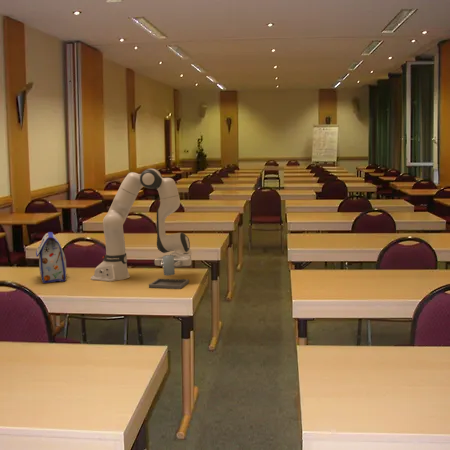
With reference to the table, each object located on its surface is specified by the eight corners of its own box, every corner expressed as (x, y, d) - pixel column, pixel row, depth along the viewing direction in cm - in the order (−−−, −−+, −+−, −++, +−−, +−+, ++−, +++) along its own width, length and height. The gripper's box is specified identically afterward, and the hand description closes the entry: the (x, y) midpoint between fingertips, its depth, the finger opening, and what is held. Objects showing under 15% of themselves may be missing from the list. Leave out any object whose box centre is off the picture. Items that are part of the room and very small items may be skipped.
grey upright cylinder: (162, 275, 348) (161, 257, 347) (166, 272, 354) (164, 255, 353) (172, 275, 347) (171, 257, 345) (176, 272, 353) (175, 255, 351)
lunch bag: (37, 276, 386) (34, 232, 382) (66, 273, 390) (62, 230, 386) (38, 284, 364) (34, 238, 360) (68, 281, 369) (64, 235, 365)
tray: (149, 287, 347) (148, 284, 347) (158, 281, 360) (158, 278, 360) (180, 288, 342) (180, 285, 342) (188, 282, 356) (188, 279, 355)
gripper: (159, 253, 364) (149, 258, 351) (193, 253, 359) (185, 259, 346) (159, 264, 365) (150, 270, 352) (194, 264, 360) (185, 270, 347)
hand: (168, 264), depth 349 cm, fingers closed on grey upright cylinder, 6 cm apart
